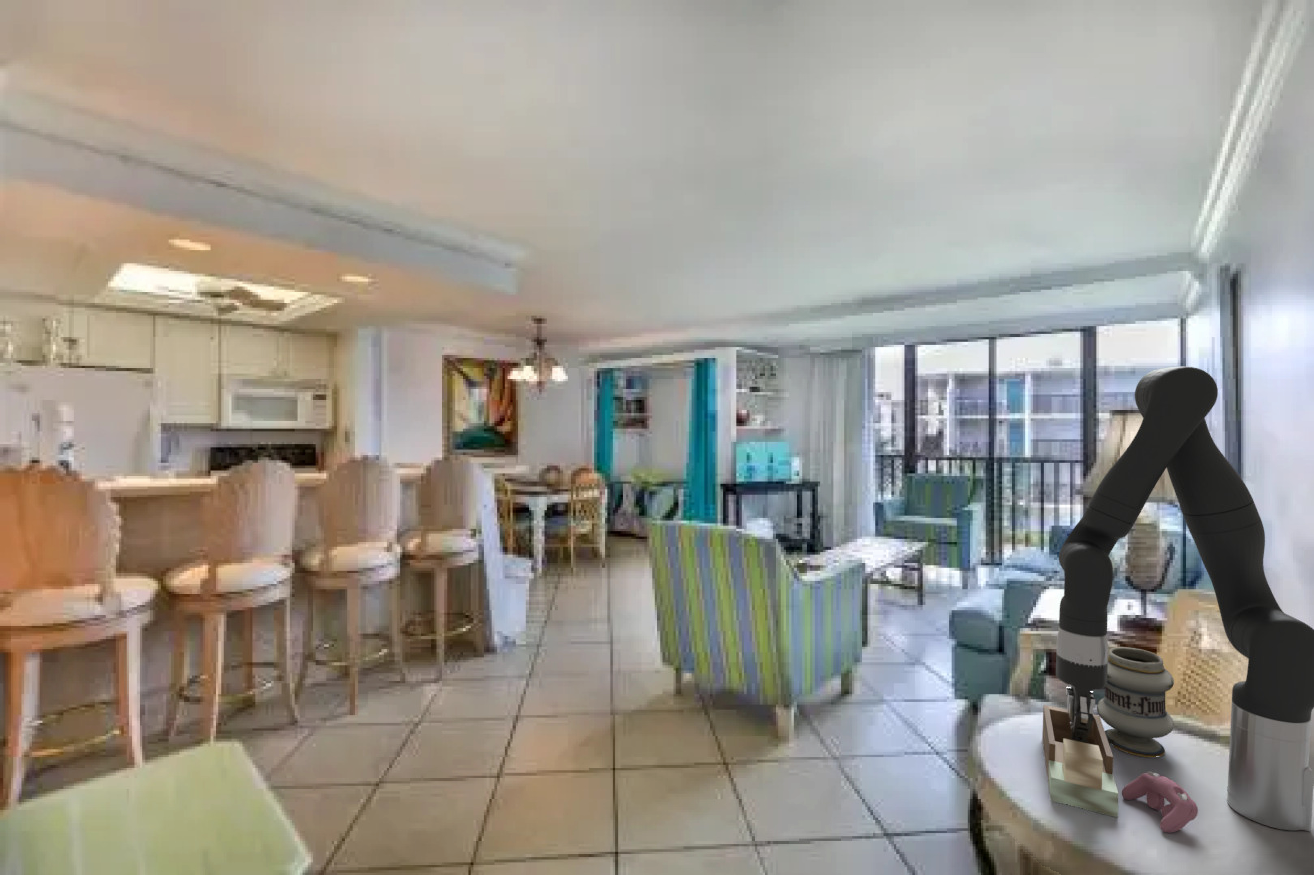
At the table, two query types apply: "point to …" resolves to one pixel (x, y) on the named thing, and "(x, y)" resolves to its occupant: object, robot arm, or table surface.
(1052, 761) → the channel
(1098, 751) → the maple block
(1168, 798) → the video game controller
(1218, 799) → the table surface
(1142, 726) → the apothecary jar
